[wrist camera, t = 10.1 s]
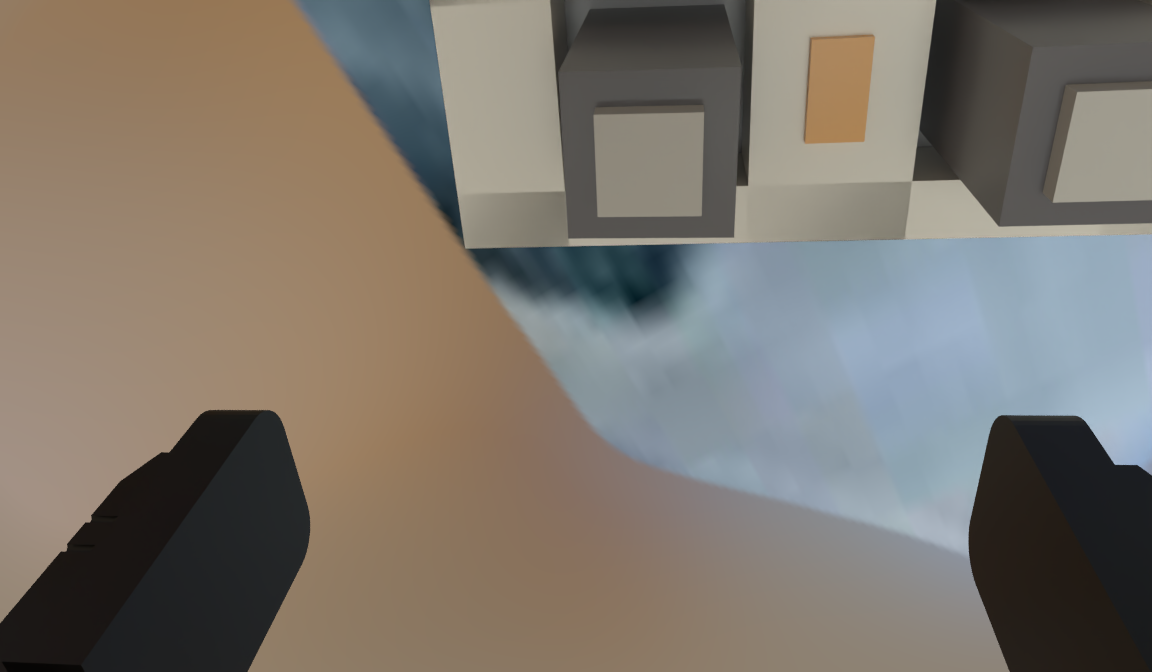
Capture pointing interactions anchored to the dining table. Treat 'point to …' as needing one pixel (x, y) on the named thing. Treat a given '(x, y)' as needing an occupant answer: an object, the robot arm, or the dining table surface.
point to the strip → (766, 124)
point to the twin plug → (1045, 107)
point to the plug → (651, 123)
